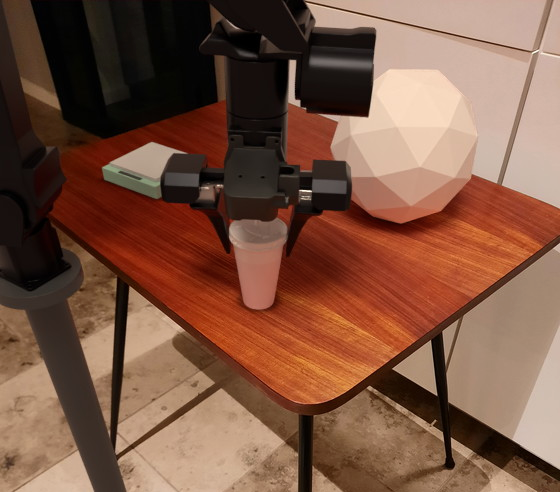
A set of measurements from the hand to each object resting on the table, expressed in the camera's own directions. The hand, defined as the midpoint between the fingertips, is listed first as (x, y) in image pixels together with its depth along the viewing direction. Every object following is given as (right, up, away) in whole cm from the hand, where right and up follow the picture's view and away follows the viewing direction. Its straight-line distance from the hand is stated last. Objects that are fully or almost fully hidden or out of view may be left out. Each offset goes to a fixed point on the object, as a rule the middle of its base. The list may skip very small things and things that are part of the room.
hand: (258, 253), depth 62 cm
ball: (+19, +11, +21) cm, 30 cm away
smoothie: (0, -5, +5) cm, 7 cm away
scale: (-18, +18, +27) cm, 37 cm away
